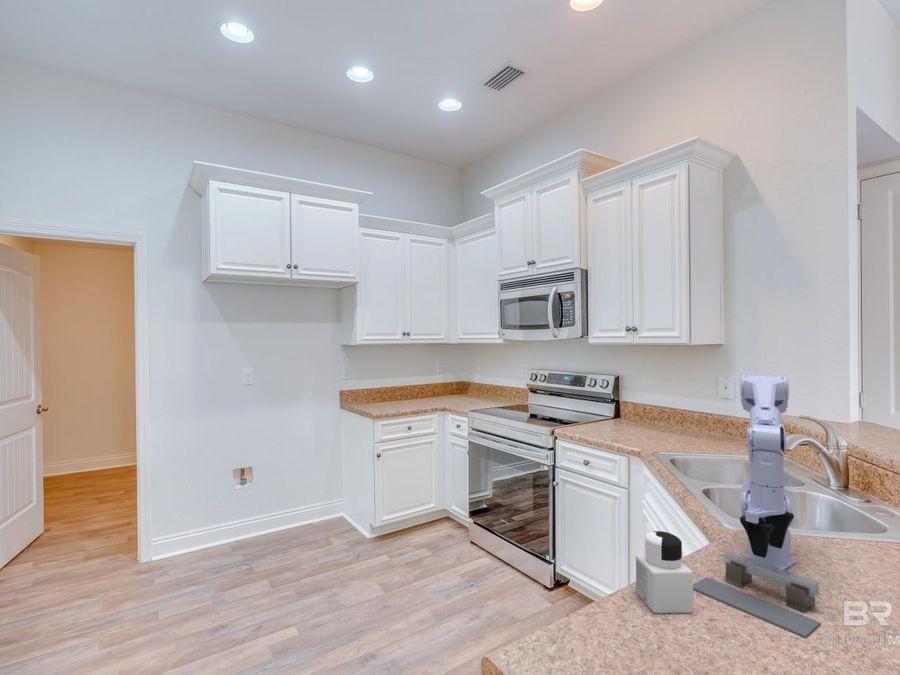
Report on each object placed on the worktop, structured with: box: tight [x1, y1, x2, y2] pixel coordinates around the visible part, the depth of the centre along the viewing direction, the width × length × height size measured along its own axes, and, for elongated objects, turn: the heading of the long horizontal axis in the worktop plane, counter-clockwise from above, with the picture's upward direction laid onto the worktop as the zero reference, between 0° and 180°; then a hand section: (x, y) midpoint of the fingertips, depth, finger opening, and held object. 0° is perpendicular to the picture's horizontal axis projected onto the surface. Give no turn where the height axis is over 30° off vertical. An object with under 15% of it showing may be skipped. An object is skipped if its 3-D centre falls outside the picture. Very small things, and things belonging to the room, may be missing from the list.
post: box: [785, 584, 816, 614], centre depth 89 cm, size 5×3×4 cm, turn 124°
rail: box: [723, 550, 820, 598], centre depth 93 cm, size 2×16×2 cm, turn 35°
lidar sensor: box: [635, 530, 694, 614], centre depth 90 cm, size 8×8×13 cm
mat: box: [693, 576, 822, 639], centre depth 89 cm, size 7×20×1 cm, turn 34°
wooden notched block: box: [725, 562, 753, 589], centre depth 98 cm, size 5×3×4 cm, turn 124°
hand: (767, 551), depth 94 cm, fingers open, 7 cm apart
